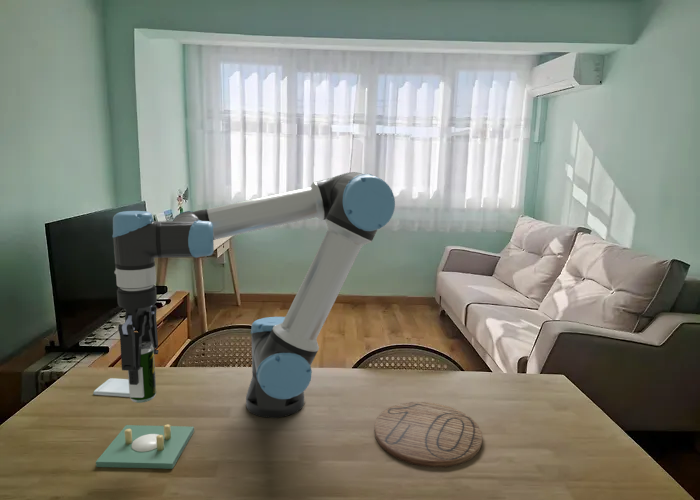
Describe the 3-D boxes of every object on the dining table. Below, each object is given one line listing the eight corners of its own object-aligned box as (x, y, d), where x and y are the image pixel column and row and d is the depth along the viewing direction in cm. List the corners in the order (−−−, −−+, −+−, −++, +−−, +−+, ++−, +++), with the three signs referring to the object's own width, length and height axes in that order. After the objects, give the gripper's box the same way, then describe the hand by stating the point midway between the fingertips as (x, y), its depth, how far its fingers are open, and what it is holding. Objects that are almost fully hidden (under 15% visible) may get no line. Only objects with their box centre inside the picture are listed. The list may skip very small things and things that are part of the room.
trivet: (360, 453, 111) (360, 445, 110) (390, 401, 134) (390, 394, 133) (475, 480, 102) (476, 472, 102) (486, 420, 126) (487, 413, 125)
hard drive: (152, 380, 140) (110, 377, 142) (137, 393, 132) (93, 390, 134) (152, 385, 141) (110, 382, 142) (137, 399, 133) (93, 396, 134)
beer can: (132, 405, 105) (128, 352, 102) (127, 395, 109) (124, 343, 107) (159, 399, 107) (156, 347, 105) (153, 389, 112) (150, 338, 109)
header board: (194, 431, 118) (193, 414, 117) (172, 468, 104) (171, 450, 103) (126, 429, 118) (125, 413, 117) (96, 466, 104) (94, 448, 103)
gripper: (137, 274, 112) (143, 370, 117) (95, 298, 94) (104, 411, 99) (170, 275, 112) (175, 371, 117) (135, 299, 94) (142, 412, 99)
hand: (143, 389), depth 108 cm, fingers closed on beer can, 5 cm apart
